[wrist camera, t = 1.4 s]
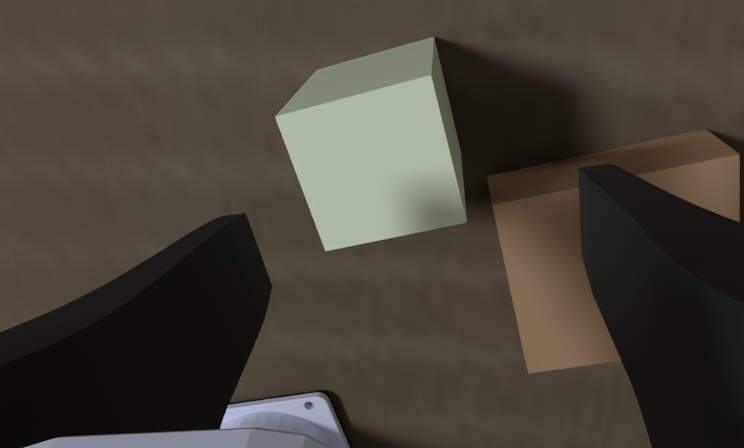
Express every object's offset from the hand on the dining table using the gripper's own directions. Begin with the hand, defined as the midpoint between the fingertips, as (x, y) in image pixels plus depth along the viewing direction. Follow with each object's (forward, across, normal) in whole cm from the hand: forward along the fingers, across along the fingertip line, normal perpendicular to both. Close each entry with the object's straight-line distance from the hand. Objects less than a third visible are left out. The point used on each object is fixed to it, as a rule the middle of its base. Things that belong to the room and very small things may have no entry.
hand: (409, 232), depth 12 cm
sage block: (+10, +2, 0) cm, 10 cm away
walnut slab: (+10, -6, +7) cm, 14 cm away
